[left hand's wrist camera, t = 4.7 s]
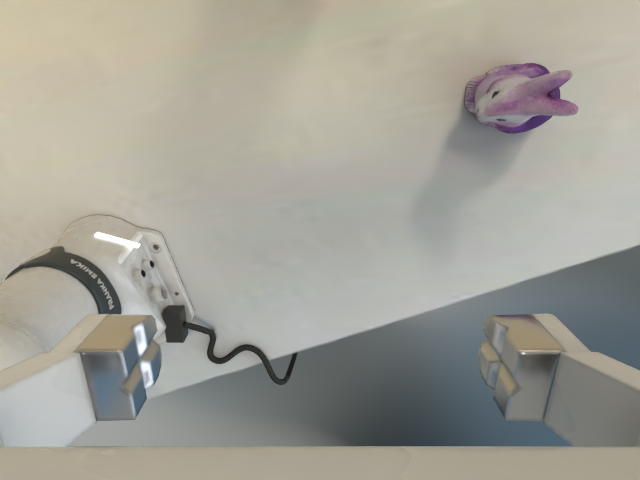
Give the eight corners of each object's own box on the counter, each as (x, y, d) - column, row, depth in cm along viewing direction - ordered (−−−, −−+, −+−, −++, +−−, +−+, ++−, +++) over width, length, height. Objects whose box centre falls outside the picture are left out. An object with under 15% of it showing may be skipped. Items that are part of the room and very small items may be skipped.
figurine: (444, 100, 54) (488, 107, 40) (510, 40, 51) (582, 25, 37) (486, 153, 56) (542, 178, 42) (551, 99, 54) (634, 105, 40)
